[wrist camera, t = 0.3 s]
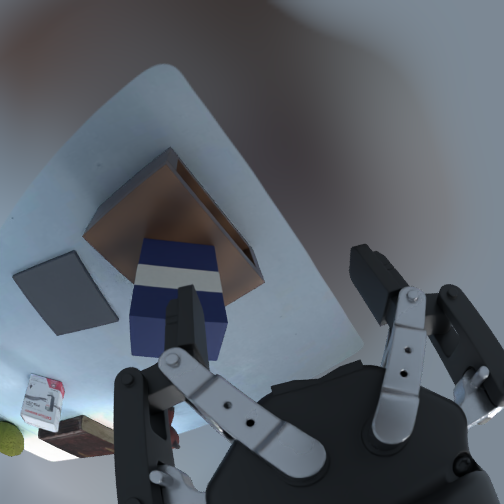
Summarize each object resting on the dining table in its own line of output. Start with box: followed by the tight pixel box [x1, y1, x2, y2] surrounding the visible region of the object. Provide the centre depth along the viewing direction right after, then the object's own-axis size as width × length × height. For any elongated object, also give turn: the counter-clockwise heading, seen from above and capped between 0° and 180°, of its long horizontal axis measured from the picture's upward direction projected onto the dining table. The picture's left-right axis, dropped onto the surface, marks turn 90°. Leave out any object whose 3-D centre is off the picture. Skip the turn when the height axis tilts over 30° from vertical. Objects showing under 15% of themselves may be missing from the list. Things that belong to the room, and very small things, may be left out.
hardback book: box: [38, 415, 114, 458], centre depth 65 cm, size 29×19×5 cm, turn 118°
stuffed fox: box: [168, 407, 180, 449], centre depth 55 cm, size 8×11×12 cm
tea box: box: [129, 238, 228, 361], centre depth 27 cm, size 5×8×11 cm, turn 75°
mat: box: [12, 251, 119, 336], centre depth 39 cm, size 14×14×1 cm
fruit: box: [0, 421, 24, 457], centre depth 57 cm, size 16×14×15 cm
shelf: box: [82, 147, 265, 306], centre depth 34 cm, size 18×12×7 cm, turn 32°
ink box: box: [21, 373, 65, 432], centre depth 45 cm, size 9×5×12 cm, turn 69°
